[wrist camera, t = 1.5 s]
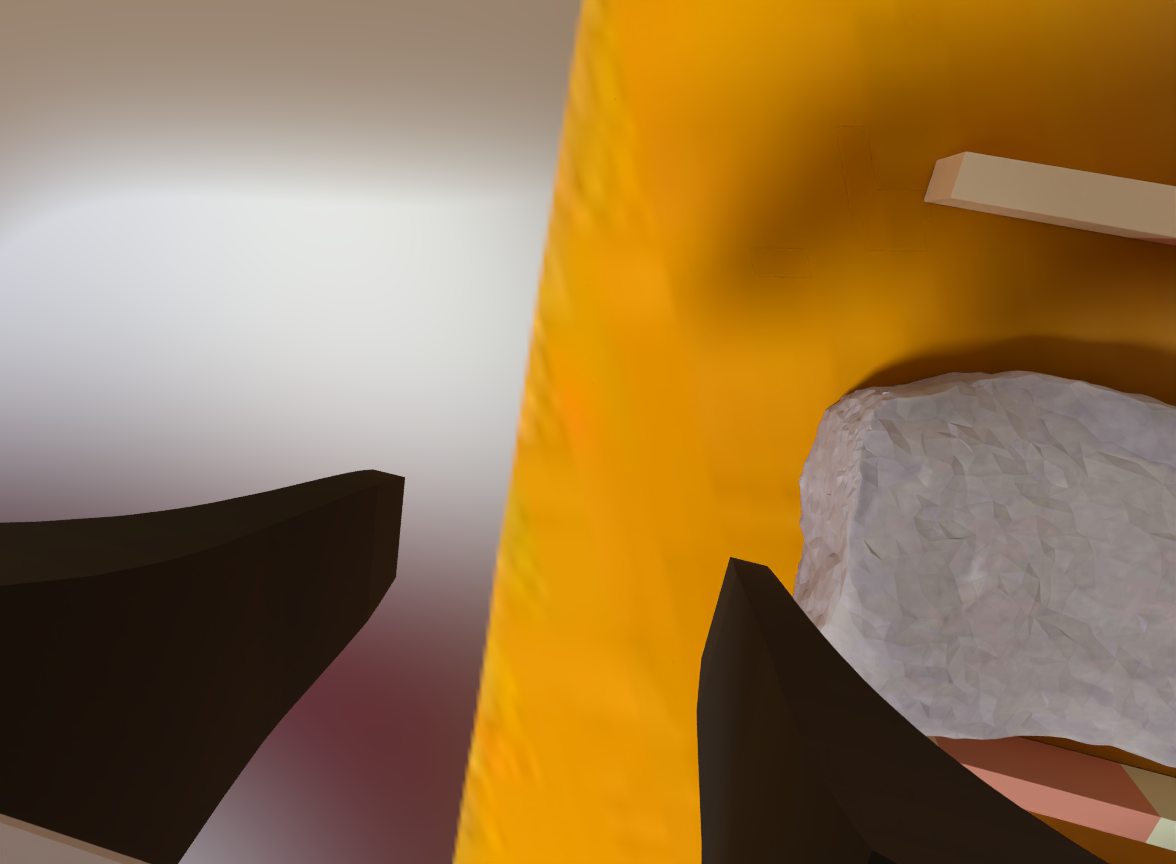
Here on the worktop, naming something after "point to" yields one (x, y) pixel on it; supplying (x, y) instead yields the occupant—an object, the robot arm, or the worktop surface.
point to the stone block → (1000, 556)
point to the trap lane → (1014, 763)
